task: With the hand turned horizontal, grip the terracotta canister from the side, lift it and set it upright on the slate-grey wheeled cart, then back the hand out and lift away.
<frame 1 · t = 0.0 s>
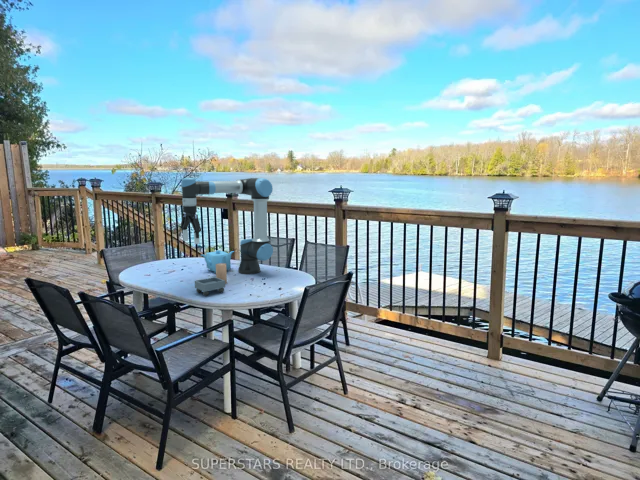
hand: (191, 242, 228), 28 cm above the table, tool pointing down, fingers open, 13 cm apart
caster cart: (210, 292, 226), on the table
canister: (221, 283, 247), on the table
teakettle: (219, 271, 277), on the table
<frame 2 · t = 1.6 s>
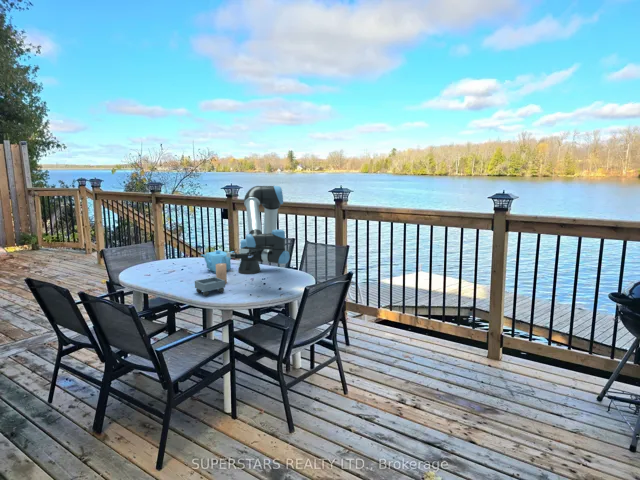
hand: (233, 252, 240), 20 cm above the table, tool horizontal, fingers open, 13 cm apart
nothing on the table moved.
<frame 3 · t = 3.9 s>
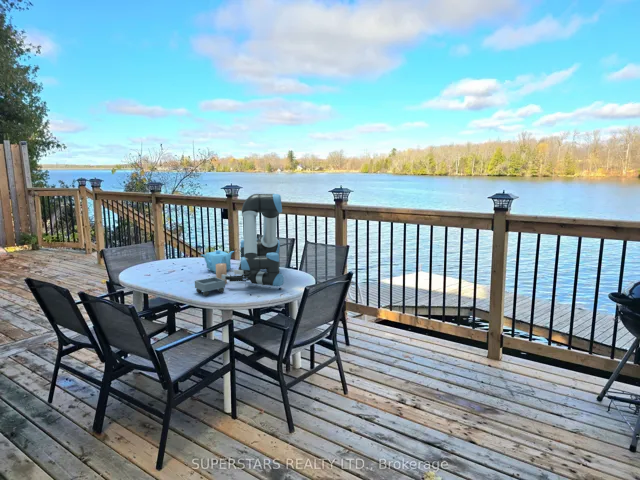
hand: (228, 274, 243), 6 cm above the table, tool horizontal, fingers open, 13 cm apart
nothing on the table moved.
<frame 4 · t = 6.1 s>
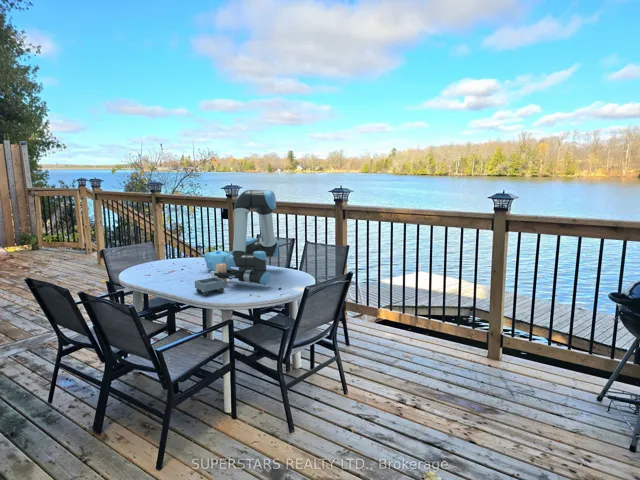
hand: (214, 272, 247), 7 cm above the table, tool horizontal, fingers closed on canister, 6 cm apart
canister: (221, 283, 247), on the table, touching gripper
everything else where it was.
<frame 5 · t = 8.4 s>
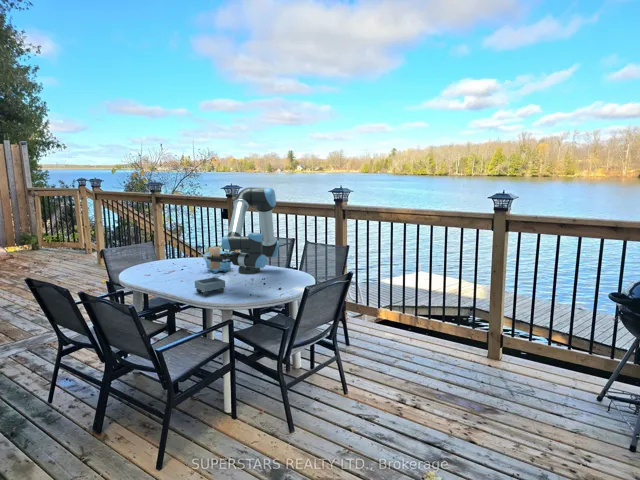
hand: (207, 256, 234), 19 cm above the table, tool horizontal, fingers closed on canister, 6 cm apart
canister: (215, 267, 233), point 13 cm above the table, touching gripper
everything else where it was.
when the fingers open (12 cm above the table, at t = 10.6 s): canister stays where it is, resting on caster cart.
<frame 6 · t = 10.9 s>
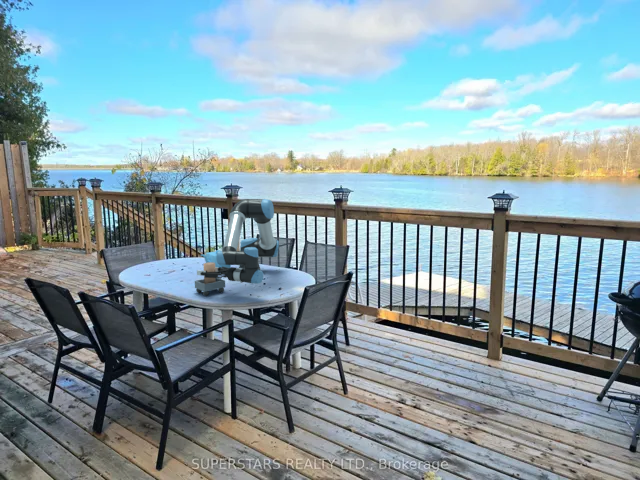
hand: (203, 270, 226), 12 cm above the table, tool horizontal, fingers open, 9 cm apart
canister: (210, 284, 225), point 5 cm above the table, touching caster cart
everything else where it was.
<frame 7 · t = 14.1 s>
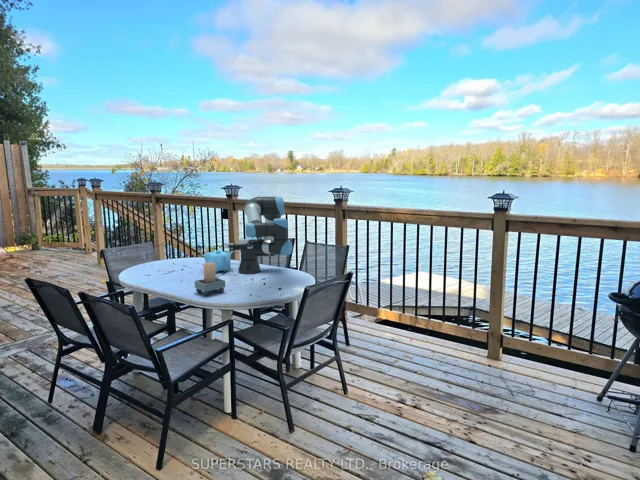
hand: (231, 243, 222), 29 cm above the table, tool horizontal, fingers open, 13 cm apart
nothing on the table moved.
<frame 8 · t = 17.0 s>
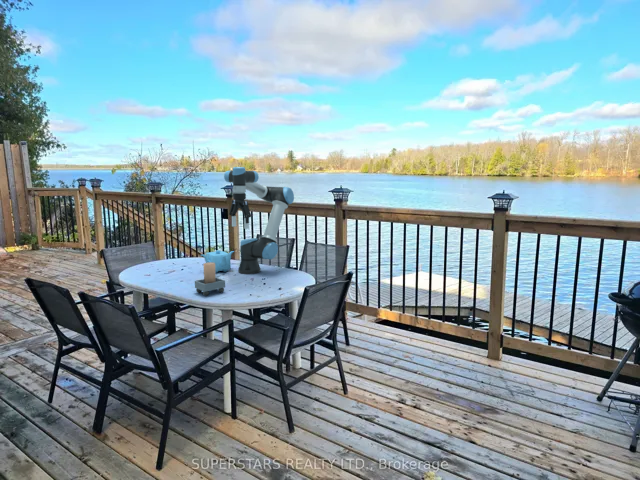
hand: (240, 227, 243), 35 cm above the table, tool pointing down, fingers open, 13 cm apart
nothing on the table moved.
at the end: canister inside the target area on the caster cart (0.0 cm from its centre), point 5.0 cm above the caster cart's base; canister tilted 0°; the gripper is holding nothing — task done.
